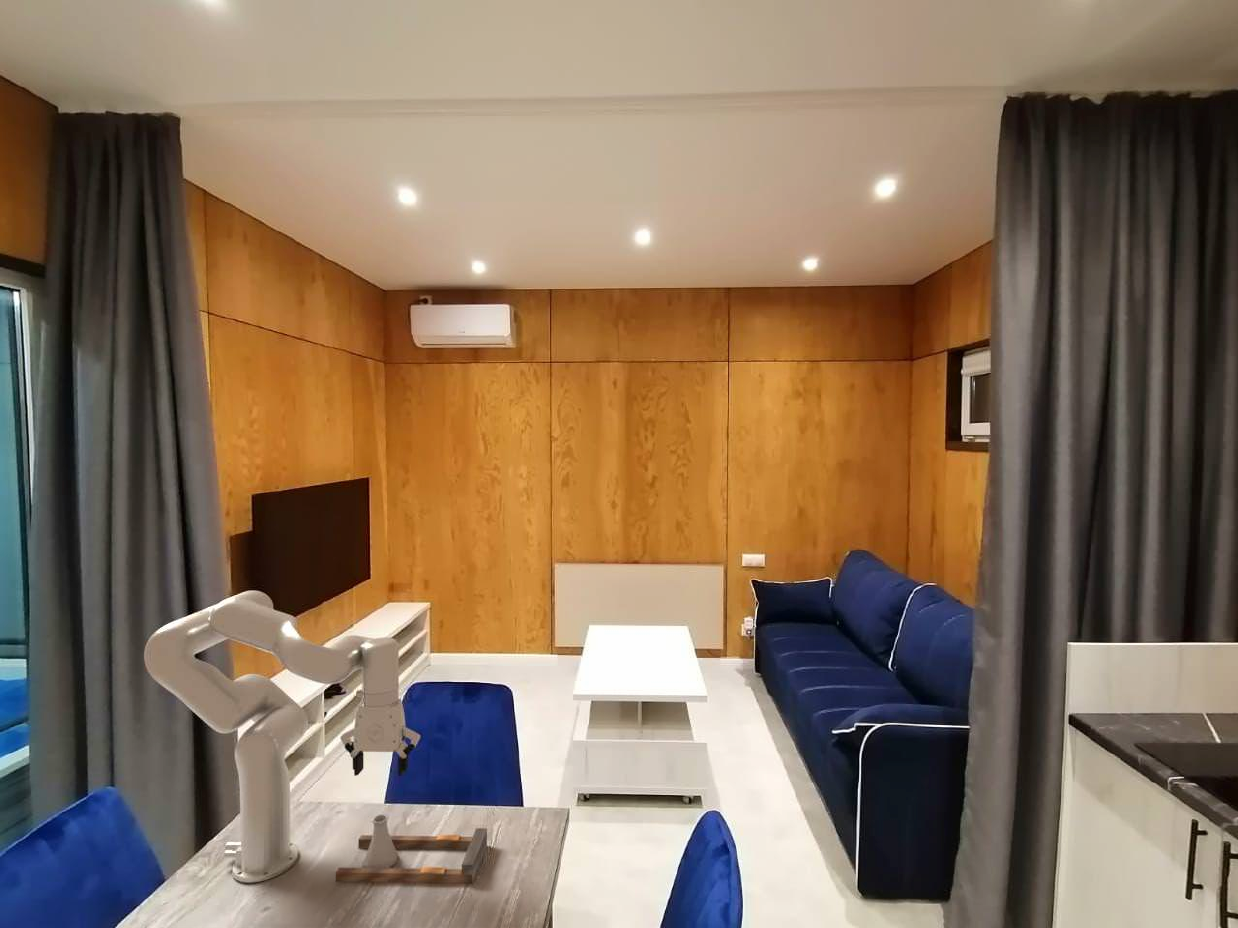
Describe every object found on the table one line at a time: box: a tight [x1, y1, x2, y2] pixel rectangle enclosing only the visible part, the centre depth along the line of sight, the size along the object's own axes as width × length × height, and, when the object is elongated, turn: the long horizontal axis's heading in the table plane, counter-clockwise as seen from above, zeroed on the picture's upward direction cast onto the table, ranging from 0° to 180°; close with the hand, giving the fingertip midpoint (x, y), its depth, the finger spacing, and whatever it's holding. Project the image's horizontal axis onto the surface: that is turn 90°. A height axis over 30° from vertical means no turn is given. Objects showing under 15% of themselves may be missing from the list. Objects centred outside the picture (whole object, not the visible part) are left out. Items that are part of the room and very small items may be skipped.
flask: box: [361, 813, 399, 868], centre depth 135 cm, size 7×7×10 cm
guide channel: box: [335, 827, 488, 885], centre depth 135 cm, size 29×13×4 cm, turn 89°
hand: (380, 772), depth 135 cm, fingers open, 9 cm apart
